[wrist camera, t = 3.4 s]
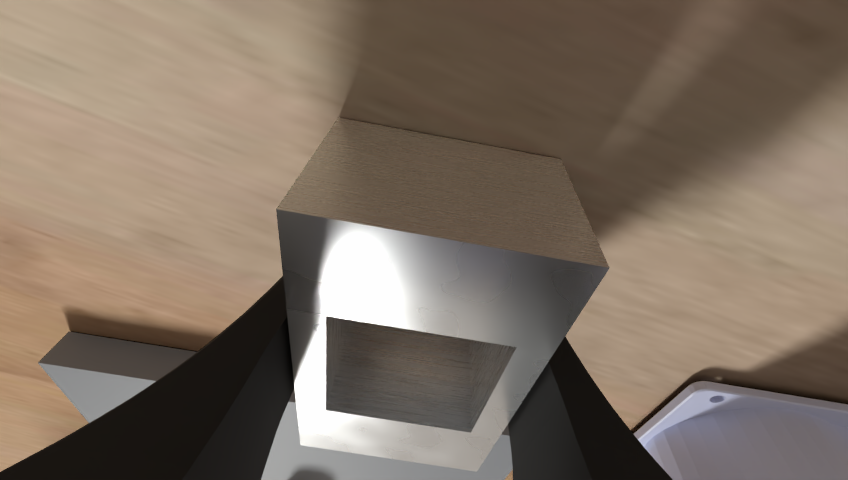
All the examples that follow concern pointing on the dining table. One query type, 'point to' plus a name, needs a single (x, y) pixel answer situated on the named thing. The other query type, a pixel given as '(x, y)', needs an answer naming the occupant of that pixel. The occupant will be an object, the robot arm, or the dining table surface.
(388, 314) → the block with square hole
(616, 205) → the dining table surface
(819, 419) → the robot arm
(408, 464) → the pin board
